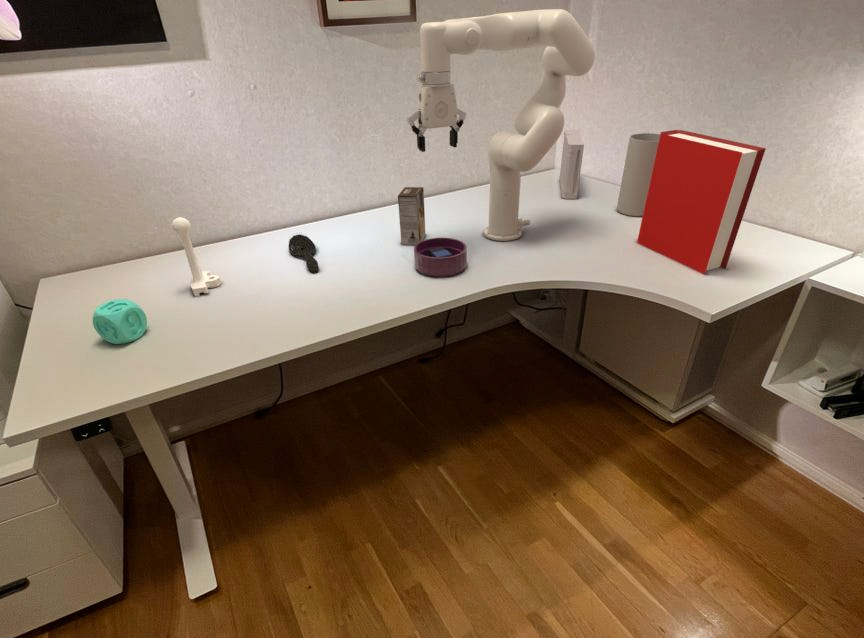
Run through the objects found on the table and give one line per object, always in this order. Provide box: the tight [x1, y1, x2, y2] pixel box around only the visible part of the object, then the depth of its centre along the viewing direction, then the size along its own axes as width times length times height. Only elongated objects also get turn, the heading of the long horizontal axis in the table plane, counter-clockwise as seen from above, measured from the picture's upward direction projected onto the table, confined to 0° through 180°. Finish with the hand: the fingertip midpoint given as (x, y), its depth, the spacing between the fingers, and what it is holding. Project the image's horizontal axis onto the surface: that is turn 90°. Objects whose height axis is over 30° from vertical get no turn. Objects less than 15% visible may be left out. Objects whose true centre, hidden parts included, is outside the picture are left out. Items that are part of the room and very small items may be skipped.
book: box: [636, 129, 767, 275], centre depth 141 cm, size 27×8×32 cm, turn 24°
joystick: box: [171, 216, 222, 297], centre depth 137 cm, size 11×8×20 cm
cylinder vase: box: [616, 132, 661, 217], centre depth 174 cm, size 12×12×25 cm
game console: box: [558, 129, 585, 200], centre depth 200 cm, size 6×27×20 cm, turn 171°
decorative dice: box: [92, 298, 148, 345], centre depth 119 cm, size 8×8×8 cm
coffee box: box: [397, 186, 426, 246], centre depth 161 cm, size 9×6×16 cm
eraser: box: [428, 247, 452, 258], centre depth 146 cm, size 5×7×4 cm, turn 25°
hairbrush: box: [288, 232, 320, 274], centre depth 156 cm, size 8×4×25 cm
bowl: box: [413, 237, 468, 278], centre depth 146 cm, size 15×15×6 cm
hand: (437, 148), depth 141 cm, fingers open, 9 cm apart
